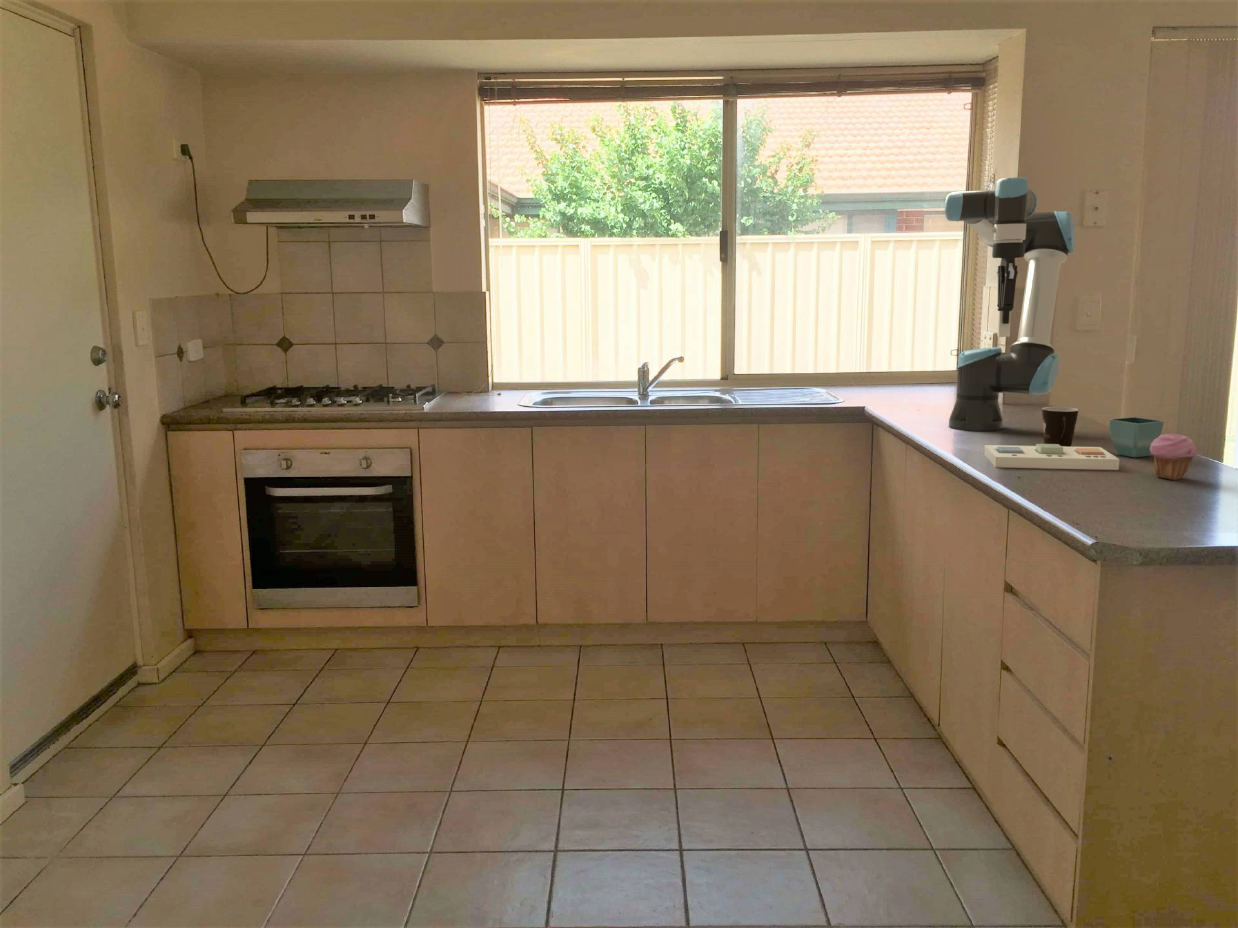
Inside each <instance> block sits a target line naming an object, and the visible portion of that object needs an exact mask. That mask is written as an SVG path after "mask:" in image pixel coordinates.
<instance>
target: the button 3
mask: <svg viewBox="0 0 1238 928" xmlns="http://www.w3.org/2000/svg"><path fill="white" fill-rule="evenodd" d="M1075 452H1076V453H1077V454H1079V455H1104V452H1103V451H1101V450H1100V449H1098V448H1076V451H1075Z"/></svg>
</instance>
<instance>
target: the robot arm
mask: <svg viewBox="0 0 1238 928" xmlns="http://www.w3.org/2000/svg"><path fill="white" fill-rule="evenodd" d="M1038 205H1039V199H1038V196H1037V194H1036V193H1034V191H1033V190H1032V189H1030V188H1029V179H1028V178H1027V177H1023V176H1022V177H1018V176H1017V177H1016V176H1015V177H1003V178H998V180H997V181H996V186H995V189H988V190H987V189H986V190H984V189H983V190H967V191H965V190H964V191H963V190H960V191H953V192H950V193H949V194H947V196H946V198H945V203H944V214H945V218H946V219H947V220H948V221H950V222H964V223H966V224H967V225H968V226H969V227H971V228H972V229H973V230H974V231H975V232H976V233H978V236H979V238H980V240H981V241H982V242H983V243H984V244H985V245H987V246H988V247H991V248H992V252H991V254H992V255H991V256H992V258H993V259H1000V263H999V265H998V266H997V271H996V273H997V305H996V306H997V312H998V320H997V321H998V323H997V337H998V338H1010V336H1011V322H1012V321H1011V320H1012V319H1011V318H1012V311H1013V308H1014V304H1015V303H1014V302H1015V295H1016V294H1015V293H1016V284H1017V277H1018V265H1016V259H1019V258H1021V259H1022V258H1023V259H1024V260H1025V261H1026V262H1027V263H1028V264H1027V271H1026V277H1025V285H1024V291H1023V297H1022V298H1023V299H1022V305H1021V306H1022V307H1021V313H1020V320H1019V325H1018V327H1019V328H1018V333H1017V340H1016V341H1015V342H1013V343H1012V344H1011V345H1010V349H1009V350H1010V351H1009V352H1003V349H1002V348H1001V346H1000V347H998V346H997V347H996V346H995V347H984V348H983V347H982V348H975V349H968V350H964V351H962V352H961V353H960V354H959V355H958V363H957V364H958V365H957V366H956V368H957V378H956V401H955V403H954V406H953V409H952V410H951V413H950V416H949V419H948V427H949V428H952V429H957V430H963V431H978V432H979V431H980V432H981V431H982V432H985V431H991V432H992V431H999V430H1002V429H1004V418H1003V415H1002V411H1001V408H1000V407H1001V406H1000V402H999V398H1000V397H999V396H1000V395H999V394H1013V395H1014V394H1017V395H1030V396H1034V395H1041V396H1043V395H1047V394H1049V393H1050V392H1051V391H1052V389H1053V387H1054V386H1055V383H1056V381H1057V376H1058V373H1059V366H1060V355H1058V354H1057V353H1056V352H1055V348H1054V346H1053V345H1052V344H1051V342H1050V341H1051V335H1052V328H1053V327H1052V326H1053V323H1054V322H1053V320H1054V314H1055V306H1056V298H1057V292H1058V285H1059V277H1060V270H1061V265H1063V264H1064V263H1065V262H1067V259H1068V255H1069V254H1071V253H1072V254H1073V253H1074V252H1075V248H1076V227H1075V221H1074V217H1073V215H1072V214H1071V212H1069V211H1057V210H1054V211H1042V212H1041V211H1039V212H1036V210H1037V209H1038Z"/></svg>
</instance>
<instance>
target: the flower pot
mask: <svg viewBox="0 0 1238 928" xmlns="http://www.w3.org/2000/svg"><path fill="white" fill-rule="evenodd" d="M1108 423H1109V435H1110V436H1109V437H1110V440H1111V443H1112V446H1113V448H1114V450H1115V452H1116V453H1117V455H1119V456H1125V457H1130V458H1135V459H1136V458H1139V457H1142V458H1143V457H1149V456H1151V455H1152V454H1151V452H1150V446H1151V443H1152V442H1153V441H1154V440H1155V439H1157V438H1158V437H1159V436H1160V435H1162V431H1163V427H1164V423H1165V422H1164V420H1158V419H1153V418H1144V417H1138V416H1137V417H1136V416H1131V417H1128V416H1127V417H1120V418H1110V419H1109V420H1108Z"/></svg>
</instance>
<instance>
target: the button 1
mask: <svg viewBox="0 0 1238 928" xmlns="http://www.w3.org/2000/svg"><path fill="white" fill-rule="evenodd" d="M997 452H998V453H1016V454H1023V450H1022V449H1020V448H1019V447H997Z"/></svg>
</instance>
